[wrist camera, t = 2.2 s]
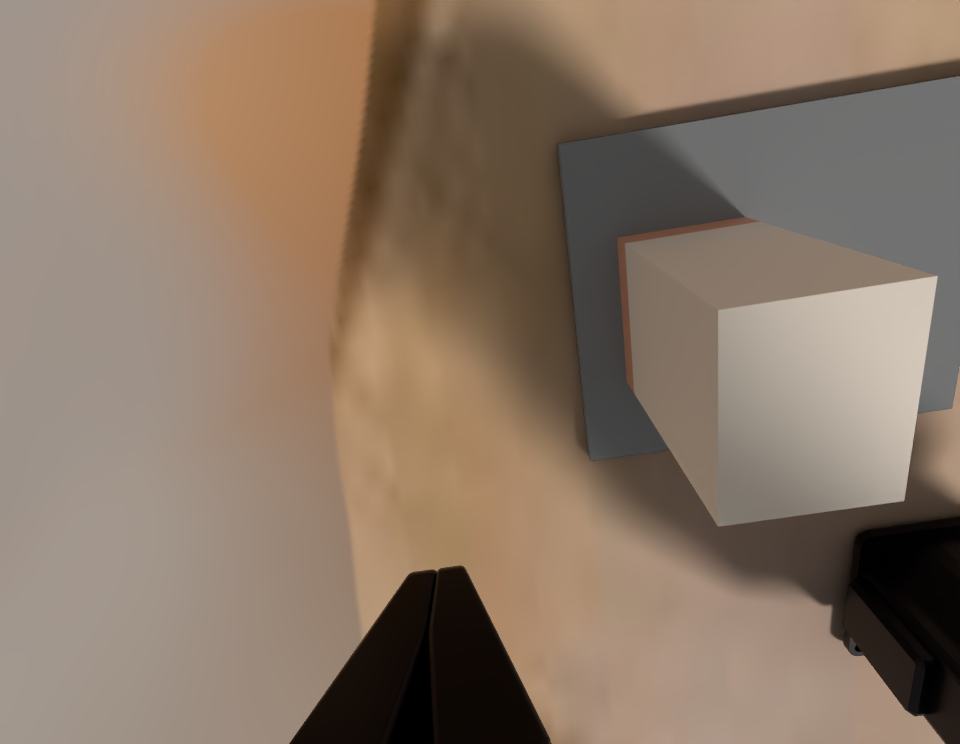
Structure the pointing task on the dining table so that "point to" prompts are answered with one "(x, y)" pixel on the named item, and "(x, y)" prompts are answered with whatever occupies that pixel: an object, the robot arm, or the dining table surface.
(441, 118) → the dining table surface
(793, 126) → the rubber mat
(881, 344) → the tall block
